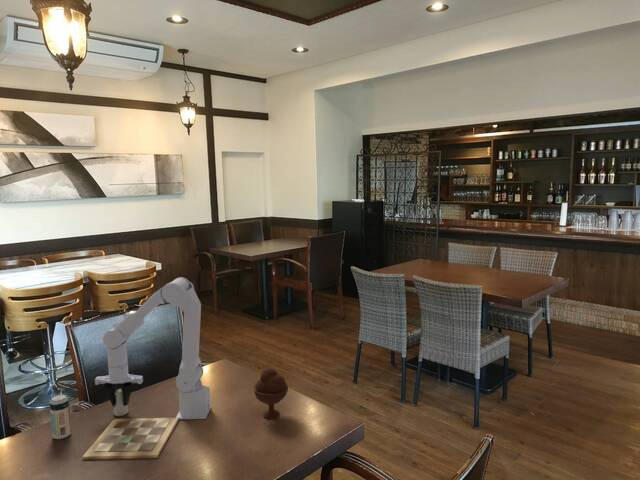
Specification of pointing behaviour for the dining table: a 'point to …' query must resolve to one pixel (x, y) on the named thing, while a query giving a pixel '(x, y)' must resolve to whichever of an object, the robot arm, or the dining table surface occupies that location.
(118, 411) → the rook chess piece
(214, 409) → the dining table surface
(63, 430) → the white labeled bottle
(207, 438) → the dining table surface
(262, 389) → the ice cream bowl
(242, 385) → the dining table surface
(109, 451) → the chessboard
